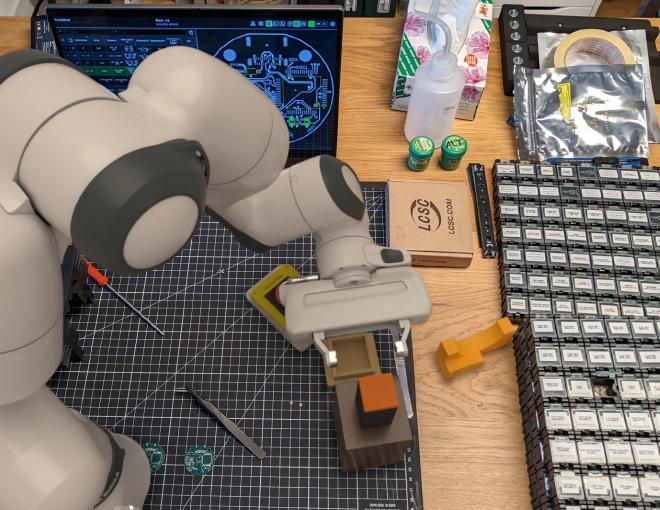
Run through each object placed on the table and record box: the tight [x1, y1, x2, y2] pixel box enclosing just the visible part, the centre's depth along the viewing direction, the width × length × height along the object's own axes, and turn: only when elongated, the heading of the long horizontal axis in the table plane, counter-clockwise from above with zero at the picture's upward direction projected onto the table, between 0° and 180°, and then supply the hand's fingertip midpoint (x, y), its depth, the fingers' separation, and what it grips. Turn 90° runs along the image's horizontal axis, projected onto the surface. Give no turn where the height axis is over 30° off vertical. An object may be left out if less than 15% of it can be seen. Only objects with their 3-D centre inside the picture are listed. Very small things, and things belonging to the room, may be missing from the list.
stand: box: [332, 374, 414, 473], centre depth 91 cm, size 9×9×16 cm
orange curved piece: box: [434, 316, 516, 380], centre depth 102 cm, size 12×4×6 cm, turn 111°
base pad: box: [322, 332, 382, 388], centre depth 102 cm, size 9×8×3 cm
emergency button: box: [245, 263, 314, 353], centre depth 106 cm, size 9×4×15 cm
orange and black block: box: [355, 372, 399, 429], centre depth 80 cm, size 4×4×9 cm
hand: (367, 361), depth 82 cm, fingers open, 8 cm apart
